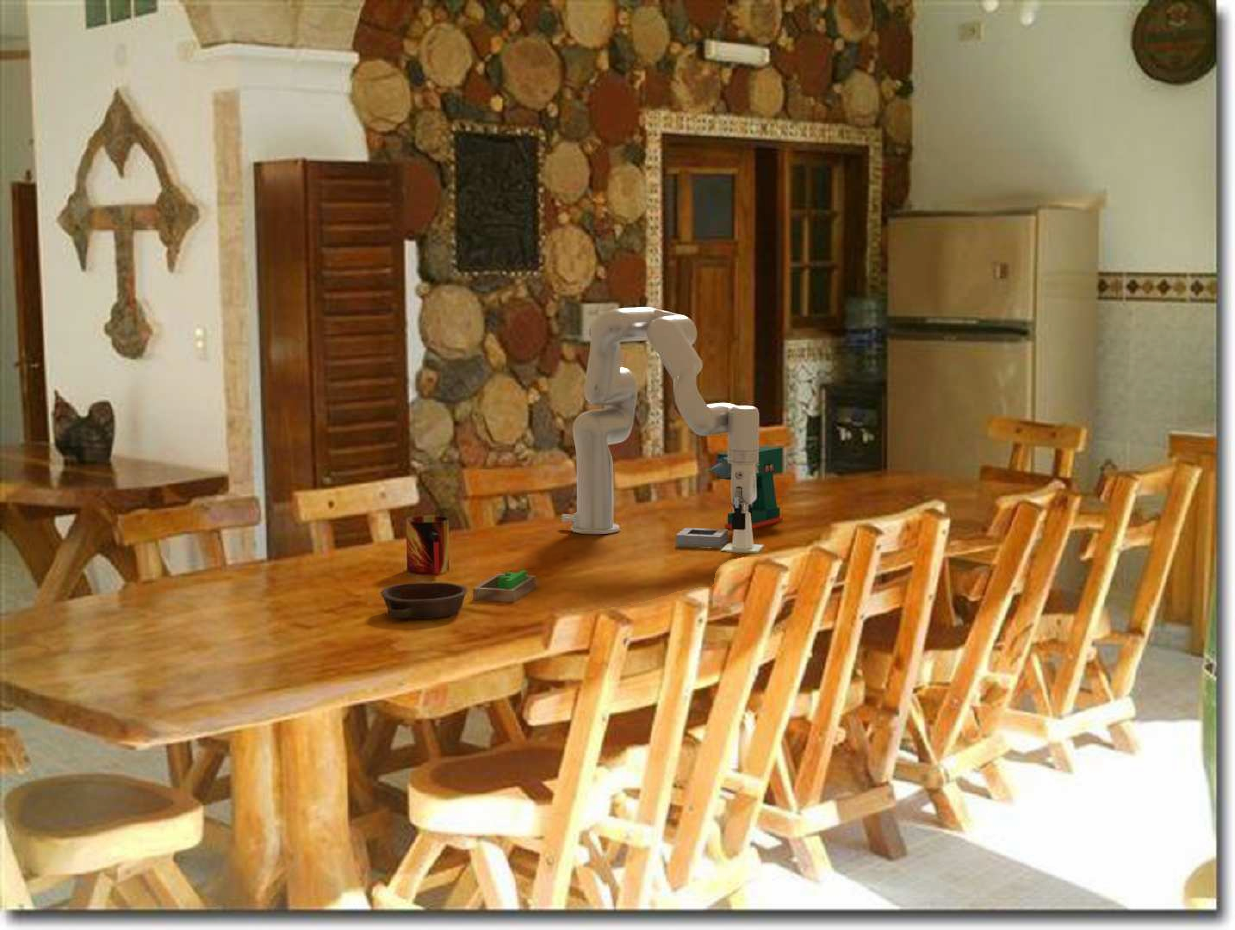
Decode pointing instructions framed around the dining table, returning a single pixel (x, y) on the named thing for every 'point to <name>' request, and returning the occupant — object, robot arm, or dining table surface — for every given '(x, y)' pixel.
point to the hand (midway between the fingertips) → (742, 526)
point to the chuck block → (702, 537)
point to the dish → (423, 600)
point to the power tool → (757, 484)
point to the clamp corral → (502, 590)
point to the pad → (754, 549)
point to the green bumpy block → (511, 580)
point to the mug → (427, 545)
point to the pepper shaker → (744, 533)
